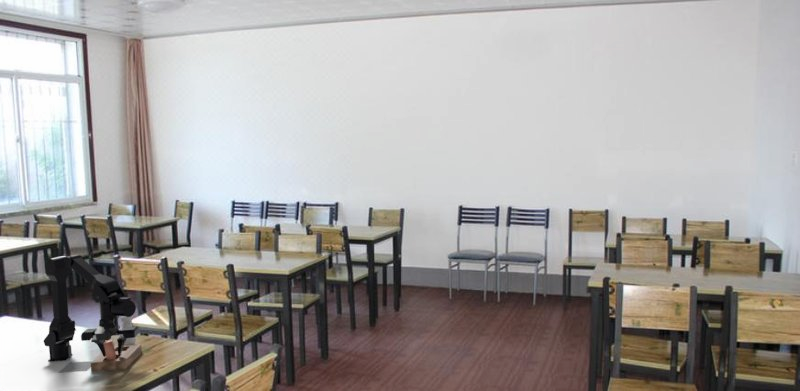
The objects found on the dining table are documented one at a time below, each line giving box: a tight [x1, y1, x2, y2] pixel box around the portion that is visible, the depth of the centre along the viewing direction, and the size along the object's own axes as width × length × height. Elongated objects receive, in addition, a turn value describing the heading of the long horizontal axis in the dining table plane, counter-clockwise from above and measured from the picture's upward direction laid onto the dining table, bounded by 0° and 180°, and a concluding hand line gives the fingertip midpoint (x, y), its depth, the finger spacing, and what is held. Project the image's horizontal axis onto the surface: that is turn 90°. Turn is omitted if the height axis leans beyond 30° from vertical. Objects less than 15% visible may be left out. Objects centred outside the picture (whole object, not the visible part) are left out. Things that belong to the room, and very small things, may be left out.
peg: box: [104, 339, 117, 360], centre depth 226 cm, size 3×3×9 cm
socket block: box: [90, 343, 143, 372], centre depth 231 cm, size 12×18×4 cm, turn 5°
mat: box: [57, 360, 93, 373], centre depth 227 cm, size 10×10×1 cm
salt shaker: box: [120, 315, 137, 345], centre depth 248 cm, size 6×6×13 cm
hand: (112, 356), depth 226 cm, fingers open, 5 cm apart
